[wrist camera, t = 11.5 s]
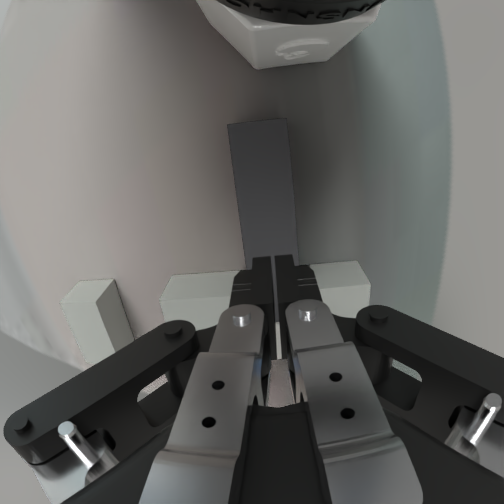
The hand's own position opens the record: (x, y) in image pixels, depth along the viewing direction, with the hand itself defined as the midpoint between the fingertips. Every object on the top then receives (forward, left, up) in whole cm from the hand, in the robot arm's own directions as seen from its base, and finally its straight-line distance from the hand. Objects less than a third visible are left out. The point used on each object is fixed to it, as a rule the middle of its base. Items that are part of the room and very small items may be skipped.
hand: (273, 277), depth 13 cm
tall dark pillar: (+1, 0, -9) cm, 9 cm away
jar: (-14, +2, -9) cm, 16 cm away
